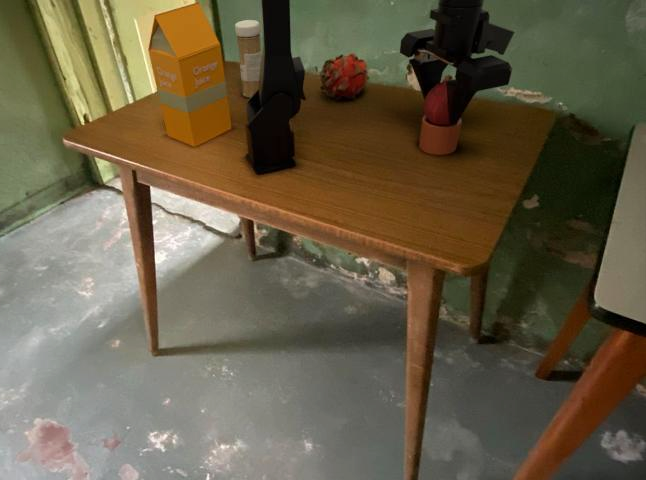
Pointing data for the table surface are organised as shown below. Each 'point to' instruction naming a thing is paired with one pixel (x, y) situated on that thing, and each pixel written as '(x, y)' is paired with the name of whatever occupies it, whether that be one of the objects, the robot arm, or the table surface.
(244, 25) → the sprinkles bottle
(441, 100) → the onion
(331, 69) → the dragon fruit
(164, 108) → the orange juice
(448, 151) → the cup
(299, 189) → the table surface
